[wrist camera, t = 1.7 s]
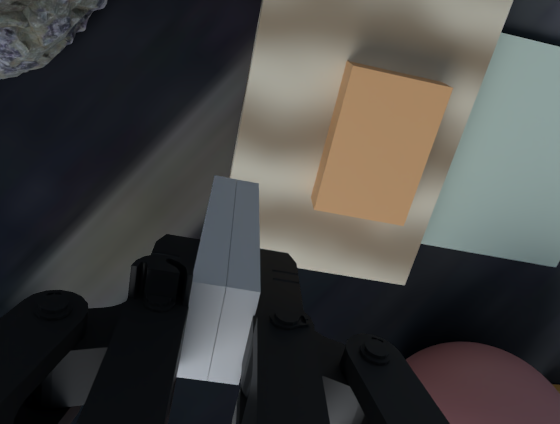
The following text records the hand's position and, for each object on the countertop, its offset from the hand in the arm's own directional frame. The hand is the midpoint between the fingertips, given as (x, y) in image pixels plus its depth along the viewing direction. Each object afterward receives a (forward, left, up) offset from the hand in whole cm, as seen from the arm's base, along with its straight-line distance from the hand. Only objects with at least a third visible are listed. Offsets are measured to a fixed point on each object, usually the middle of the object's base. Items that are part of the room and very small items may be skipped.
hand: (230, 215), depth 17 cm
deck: (0, +7, -18) cm, 20 cm away
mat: (0, +21, -18) cm, 28 cm away
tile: (0, +9, -14) cm, 17 cm away
